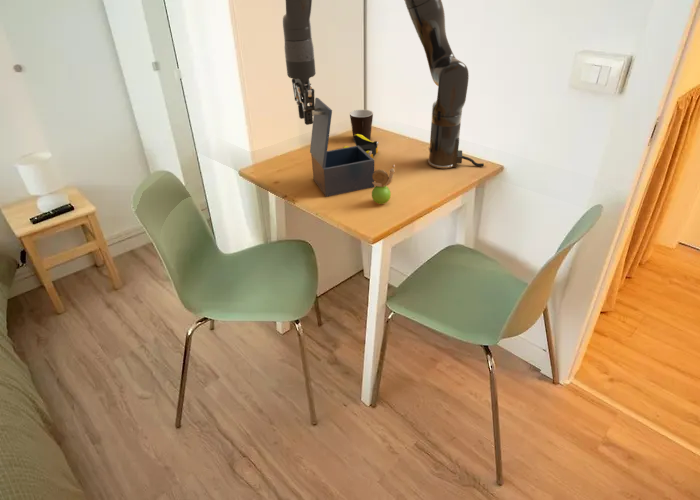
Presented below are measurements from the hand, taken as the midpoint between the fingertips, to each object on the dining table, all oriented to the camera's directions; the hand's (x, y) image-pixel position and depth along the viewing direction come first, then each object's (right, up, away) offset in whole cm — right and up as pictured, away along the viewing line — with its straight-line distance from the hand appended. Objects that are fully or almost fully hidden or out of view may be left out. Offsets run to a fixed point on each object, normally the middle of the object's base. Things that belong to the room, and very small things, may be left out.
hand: (306, 120), depth 131 cm
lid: (+4, -3, +4) cm, 6 cm away
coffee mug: (+16, +5, +44) cm, 47 cm away
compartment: (+10, -16, +15) cm, 24 cm away
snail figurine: (+22, -23, +4) cm, 32 cm away
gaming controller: (+17, -4, +32) cm, 37 cm away
